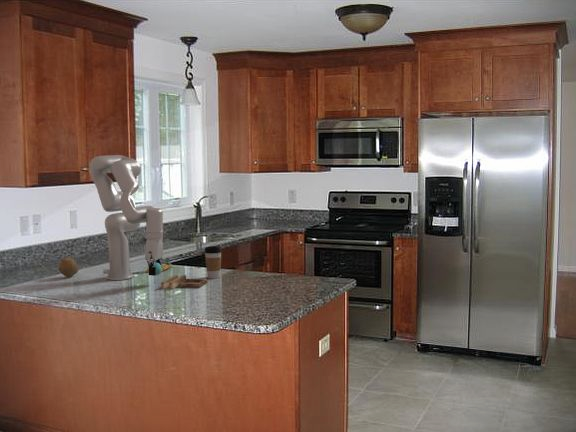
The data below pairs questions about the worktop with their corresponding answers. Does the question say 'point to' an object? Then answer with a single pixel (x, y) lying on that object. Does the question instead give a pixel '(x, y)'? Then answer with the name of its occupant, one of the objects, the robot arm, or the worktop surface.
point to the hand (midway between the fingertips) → (155, 273)
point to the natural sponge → (68, 267)
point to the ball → (158, 268)
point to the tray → (193, 283)
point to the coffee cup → (213, 261)
